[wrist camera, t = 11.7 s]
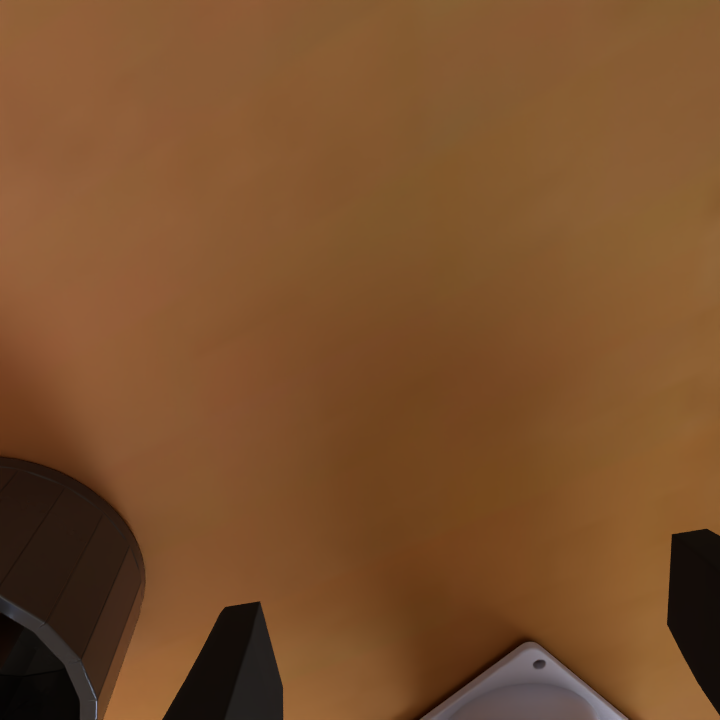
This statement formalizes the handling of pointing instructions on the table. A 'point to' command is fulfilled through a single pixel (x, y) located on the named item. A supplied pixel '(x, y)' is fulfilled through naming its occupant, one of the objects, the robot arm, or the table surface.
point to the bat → (8, 636)
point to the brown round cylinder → (63, 594)
